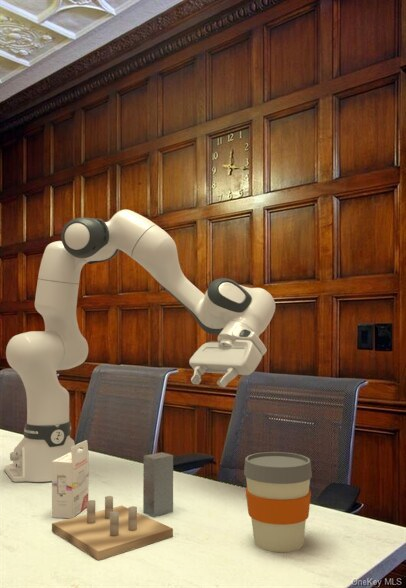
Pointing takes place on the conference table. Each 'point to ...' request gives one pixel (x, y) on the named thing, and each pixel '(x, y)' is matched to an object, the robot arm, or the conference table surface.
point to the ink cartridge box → (70, 482)
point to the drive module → (158, 484)
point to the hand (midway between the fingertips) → (206, 384)
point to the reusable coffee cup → (278, 499)
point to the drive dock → (102, 530)
